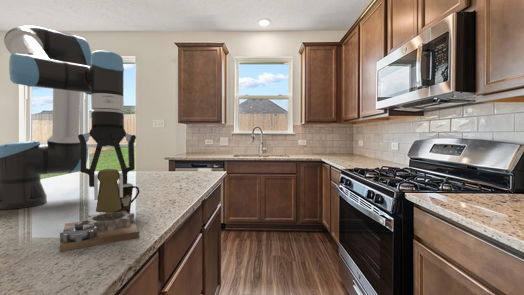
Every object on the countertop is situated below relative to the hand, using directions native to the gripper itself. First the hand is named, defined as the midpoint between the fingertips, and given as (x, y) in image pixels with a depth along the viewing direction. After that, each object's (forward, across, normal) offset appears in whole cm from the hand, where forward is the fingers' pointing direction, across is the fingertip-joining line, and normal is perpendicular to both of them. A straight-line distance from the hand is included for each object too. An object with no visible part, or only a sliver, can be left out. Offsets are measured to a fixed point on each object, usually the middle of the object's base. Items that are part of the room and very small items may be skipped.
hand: (108, 197), depth 72 cm
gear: (+7, -7, -7) cm, 12 cm away
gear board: (+9, -2, -2) cm, 9 cm away
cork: (+3, 0, 0) cm, 3 cm away
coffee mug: (+9, +5, +12) cm, 16 cm away
